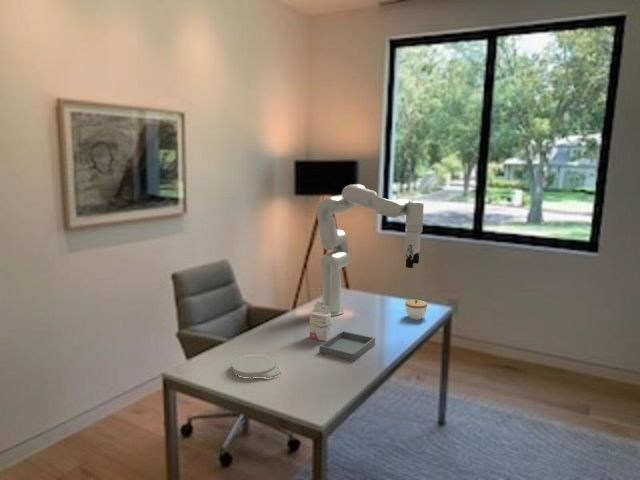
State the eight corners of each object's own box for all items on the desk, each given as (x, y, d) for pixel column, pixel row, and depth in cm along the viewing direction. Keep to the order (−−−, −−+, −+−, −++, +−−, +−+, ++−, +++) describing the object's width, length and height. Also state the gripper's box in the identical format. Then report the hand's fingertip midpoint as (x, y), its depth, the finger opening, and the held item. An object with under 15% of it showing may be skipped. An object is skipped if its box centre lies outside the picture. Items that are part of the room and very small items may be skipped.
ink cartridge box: (309, 338, 215) (309, 306, 212) (313, 334, 220) (314, 303, 217) (326, 341, 212) (326, 309, 209) (331, 337, 216) (331, 306, 213)
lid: (263, 386, 172) (263, 378, 171) (221, 373, 182) (221, 365, 181) (291, 368, 186) (291, 361, 185) (251, 356, 196) (251, 349, 196)
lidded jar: (429, 316, 244) (430, 298, 242) (421, 322, 235) (422, 304, 233) (409, 312, 250) (410, 295, 248) (401, 318, 241) (402, 300, 239)
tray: (319, 352, 200) (319, 345, 199) (342, 337, 217) (342, 330, 216) (353, 361, 192) (354, 354, 191) (375, 344, 209) (375, 337, 208)
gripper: (411, 225, 227) (409, 260, 230) (400, 230, 212) (398, 268, 215) (426, 226, 224) (425, 262, 227) (417, 232, 209) (415, 270, 212)
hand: (412, 265), depth 221 cm, fingers open, 9 cm apart
